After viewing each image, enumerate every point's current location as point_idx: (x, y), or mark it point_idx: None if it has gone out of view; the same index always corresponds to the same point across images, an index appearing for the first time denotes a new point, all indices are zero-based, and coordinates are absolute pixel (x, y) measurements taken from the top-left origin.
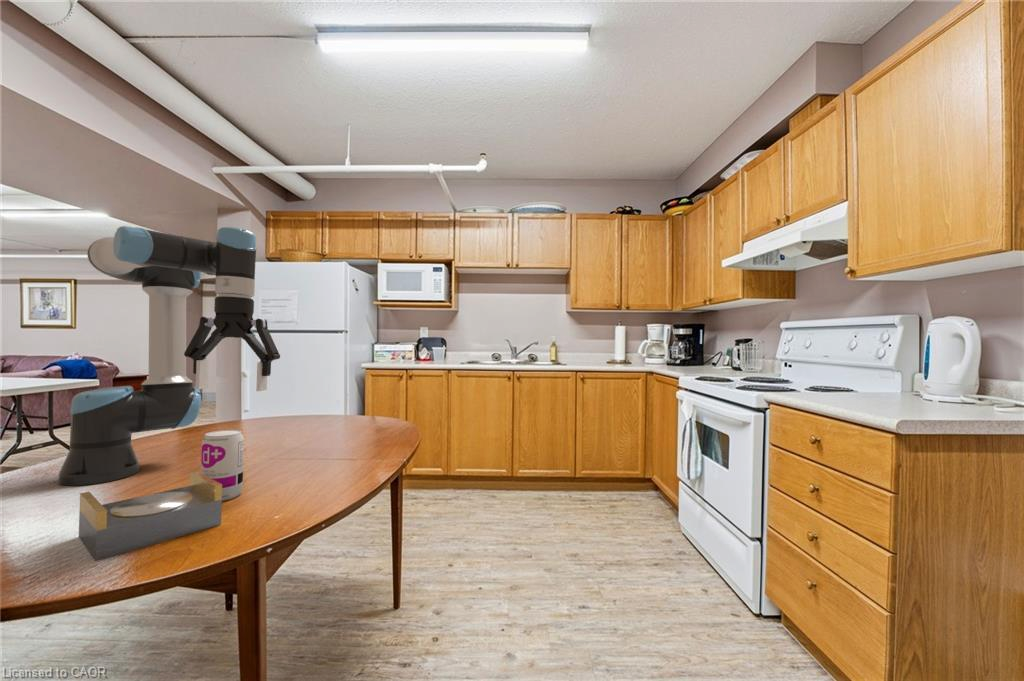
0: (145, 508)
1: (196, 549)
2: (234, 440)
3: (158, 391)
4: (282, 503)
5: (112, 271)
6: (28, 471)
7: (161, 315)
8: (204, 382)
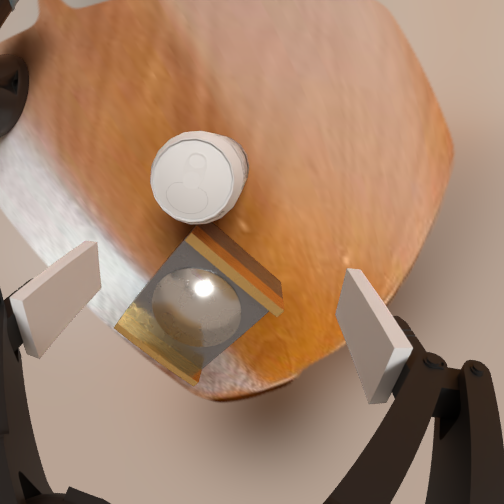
0: (200, 328)
1: (287, 340)
2: (235, 200)
3: None
4: (337, 207)
5: None
6: None
7: None
8: (86, 271)
